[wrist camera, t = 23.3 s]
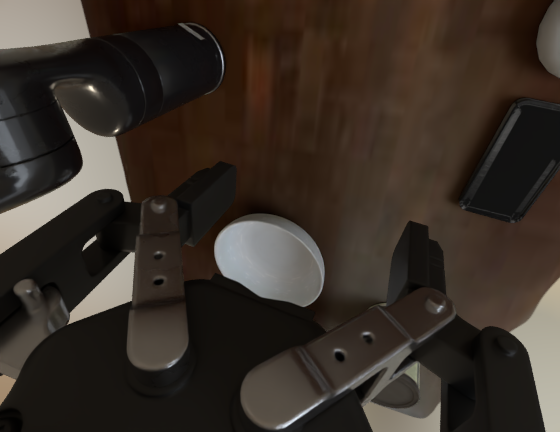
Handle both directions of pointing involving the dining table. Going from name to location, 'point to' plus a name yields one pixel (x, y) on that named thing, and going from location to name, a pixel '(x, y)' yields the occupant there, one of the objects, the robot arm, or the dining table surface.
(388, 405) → the coffee can
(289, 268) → the serving bowl
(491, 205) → the phone
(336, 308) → the dining table surface
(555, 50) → the donut
